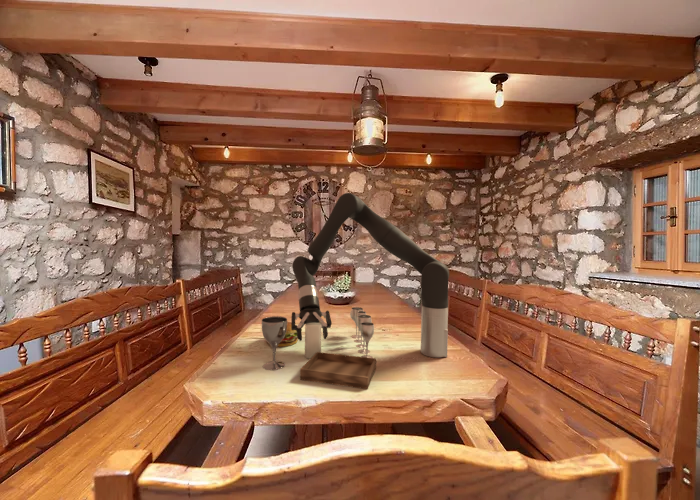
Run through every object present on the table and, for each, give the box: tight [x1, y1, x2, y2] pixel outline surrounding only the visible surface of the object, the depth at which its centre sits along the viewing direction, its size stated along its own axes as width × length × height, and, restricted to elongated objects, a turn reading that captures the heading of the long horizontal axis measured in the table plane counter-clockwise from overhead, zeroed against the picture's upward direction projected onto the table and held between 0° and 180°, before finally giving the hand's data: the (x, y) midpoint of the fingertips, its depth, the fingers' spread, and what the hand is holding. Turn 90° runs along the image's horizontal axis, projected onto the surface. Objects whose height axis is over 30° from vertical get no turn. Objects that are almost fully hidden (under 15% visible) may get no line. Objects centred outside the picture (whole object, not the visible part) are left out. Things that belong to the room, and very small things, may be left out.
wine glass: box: [261, 315, 288, 371], centre depth 99 cm, size 8×8×15 cm
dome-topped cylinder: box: [304, 323, 322, 360], centre depth 108 cm, size 6×6×11 cm
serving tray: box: [299, 351, 377, 390], centre depth 94 cm, size 20×14×3 cm
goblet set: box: [349, 306, 375, 358], centre depth 118 cm, size 28×6×13 cm, turn 8°
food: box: [267, 320, 303, 348], centre depth 121 cm, size 14×14×8 cm
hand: (313, 339), depth 107 cm, fingers open, 8 cm apart
